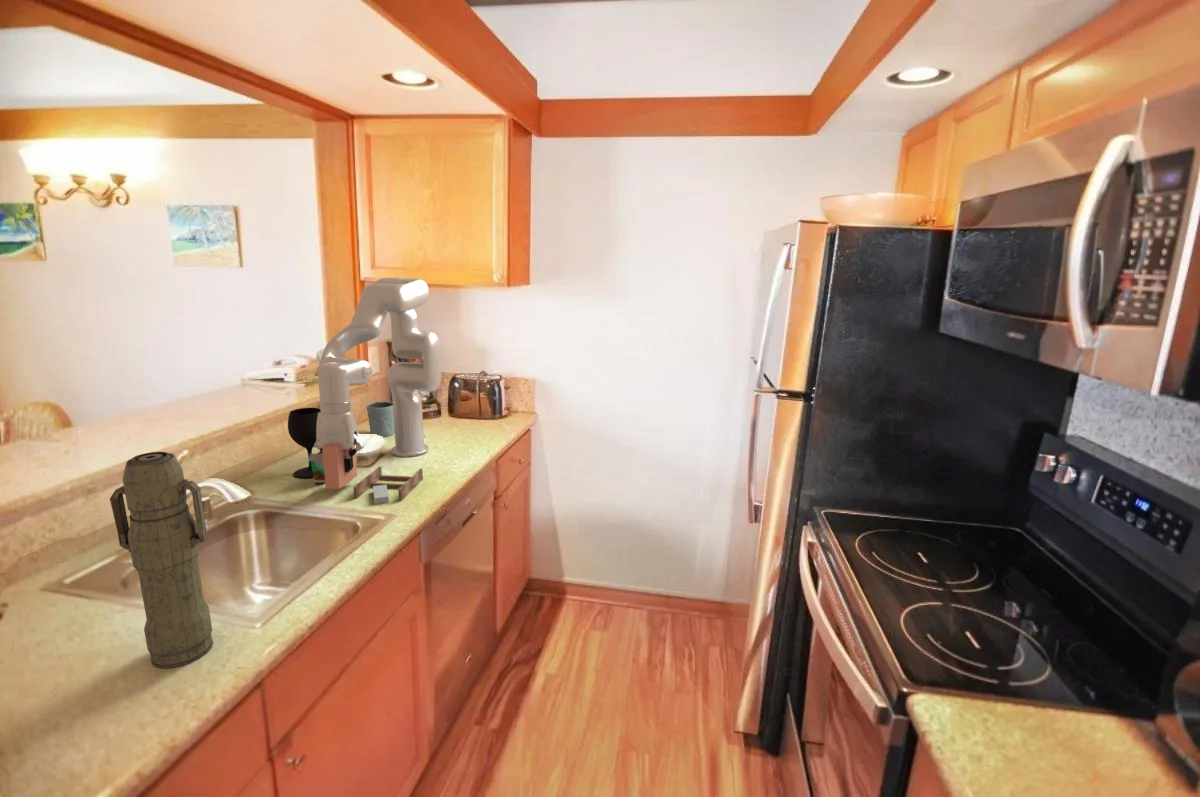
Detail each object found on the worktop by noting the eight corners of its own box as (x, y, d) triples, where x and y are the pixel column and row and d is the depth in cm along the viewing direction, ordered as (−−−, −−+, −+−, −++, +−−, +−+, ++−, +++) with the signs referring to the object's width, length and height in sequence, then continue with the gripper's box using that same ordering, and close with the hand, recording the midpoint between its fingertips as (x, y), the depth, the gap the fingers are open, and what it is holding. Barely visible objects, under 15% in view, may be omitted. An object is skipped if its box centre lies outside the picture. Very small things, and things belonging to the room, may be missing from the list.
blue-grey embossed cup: (393, 429, 227) (391, 400, 225) (399, 436, 219) (397, 405, 216) (366, 433, 222) (363, 402, 219) (371, 440, 214) (369, 408, 211)
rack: (380, 482, 174) (379, 466, 173) (423, 484, 173) (422, 468, 172) (354, 503, 158) (353, 486, 157) (401, 506, 157) (400, 488, 156)
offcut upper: (386, 490, 164) (386, 484, 164) (388, 502, 156) (388, 496, 156) (373, 492, 163) (372, 486, 162) (374, 504, 155) (374, 498, 154)
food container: (330, 488, 168) (327, 456, 166) (311, 486, 169) (308, 454, 167) (355, 474, 180) (353, 443, 178) (338, 472, 181) (335, 441, 179)
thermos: (149, 643, 100) (114, 451, 92) (228, 629, 104) (201, 444, 96) (130, 676, 92) (90, 470, 84) (216, 660, 96) (186, 461, 88)
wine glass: (308, 465, 186) (302, 405, 181) (337, 468, 184) (331, 408, 179) (285, 477, 176) (278, 414, 172) (315, 480, 174) (308, 416, 170)
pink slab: (325, 488, 159) (321, 446, 156) (343, 475, 168) (340, 436, 166) (339, 488, 158) (336, 447, 156) (357, 476, 168) (354, 436, 165)
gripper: (298, 409, 155) (304, 473, 159) (358, 412, 154) (363, 476, 158) (314, 403, 163) (319, 464, 167) (371, 405, 162) (375, 467, 166)
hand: (340, 469), depth 163 cm, fingers closed on pink slab, 4 cm apart
